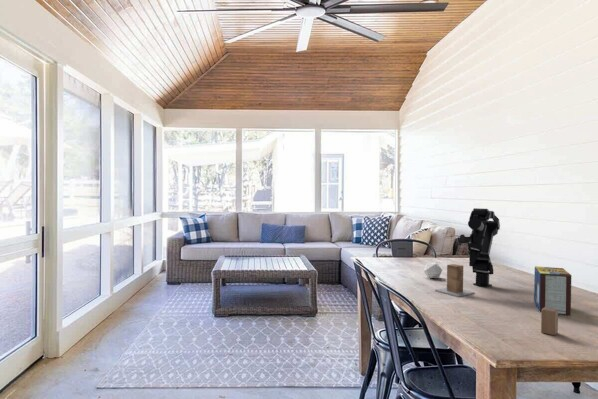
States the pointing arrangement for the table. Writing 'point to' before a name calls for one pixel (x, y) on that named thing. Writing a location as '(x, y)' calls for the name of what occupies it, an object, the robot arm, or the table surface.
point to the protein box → (552, 289)
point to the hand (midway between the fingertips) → (470, 265)
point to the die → (432, 270)
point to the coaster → (455, 293)
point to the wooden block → (549, 321)
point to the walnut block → (455, 278)
